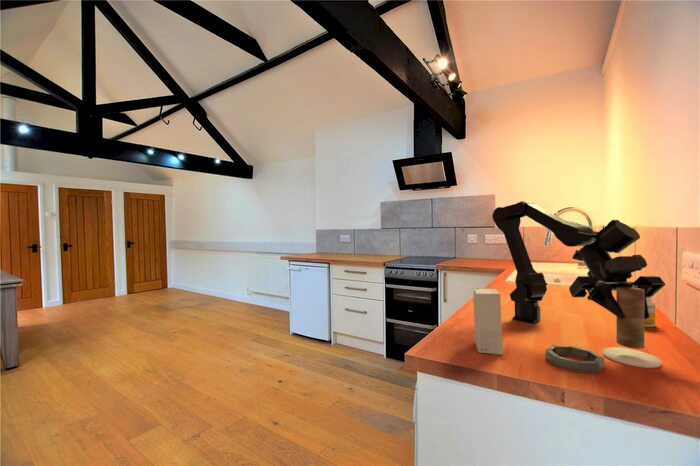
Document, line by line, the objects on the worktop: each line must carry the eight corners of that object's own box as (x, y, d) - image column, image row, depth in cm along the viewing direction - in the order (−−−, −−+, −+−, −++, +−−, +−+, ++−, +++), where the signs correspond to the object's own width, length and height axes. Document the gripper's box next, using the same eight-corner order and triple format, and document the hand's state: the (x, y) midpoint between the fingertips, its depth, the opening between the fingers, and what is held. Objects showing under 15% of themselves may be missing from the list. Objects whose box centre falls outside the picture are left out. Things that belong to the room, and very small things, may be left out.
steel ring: (540, 361, 71) (540, 353, 71) (555, 350, 77) (555, 342, 77) (595, 377, 63) (595, 367, 63) (607, 362, 69) (607, 354, 69)
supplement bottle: (626, 322, 98) (626, 291, 98) (642, 321, 99) (641, 290, 98) (644, 327, 93) (643, 295, 93) (660, 326, 93) (660, 294, 93)
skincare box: (503, 355, 74) (502, 294, 74) (476, 353, 76) (475, 293, 76) (497, 343, 82) (497, 287, 82) (473, 341, 84) (472, 286, 84)
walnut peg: (616, 345, 72) (616, 289, 71) (616, 339, 75) (616, 286, 75) (644, 350, 68) (645, 291, 68) (643, 344, 72) (644, 288, 72)
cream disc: (598, 357, 72) (598, 355, 72) (608, 346, 79) (608, 344, 79) (658, 372, 65) (658, 369, 65) (663, 358, 71) (663, 356, 71)
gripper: (576, 243, 76) (609, 298, 65) (658, 242, 74) (706, 299, 64) (557, 271, 84) (584, 324, 73) (631, 270, 82) (670, 325, 72)
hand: (635, 318), depth 70 cm, fingers closed on walnut peg, 5 cm apart
